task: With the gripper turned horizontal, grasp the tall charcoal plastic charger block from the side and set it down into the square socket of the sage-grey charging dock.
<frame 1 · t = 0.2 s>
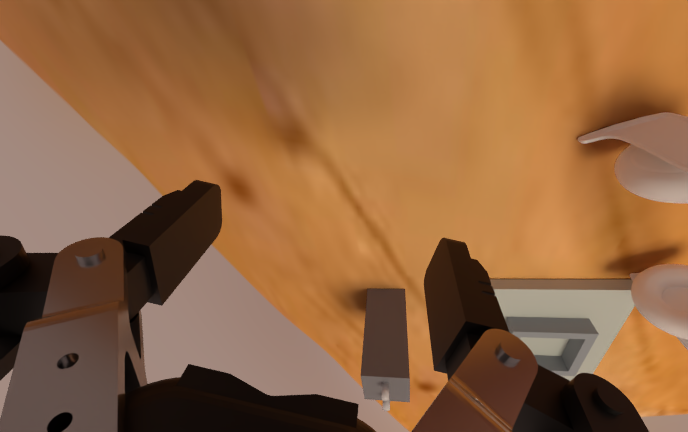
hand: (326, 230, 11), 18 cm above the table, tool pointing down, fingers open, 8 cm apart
charger block: (386, 301, 40), on the table
headset: (635, 205, 28), on the table
charging dock: (534, 329, 39), on the table
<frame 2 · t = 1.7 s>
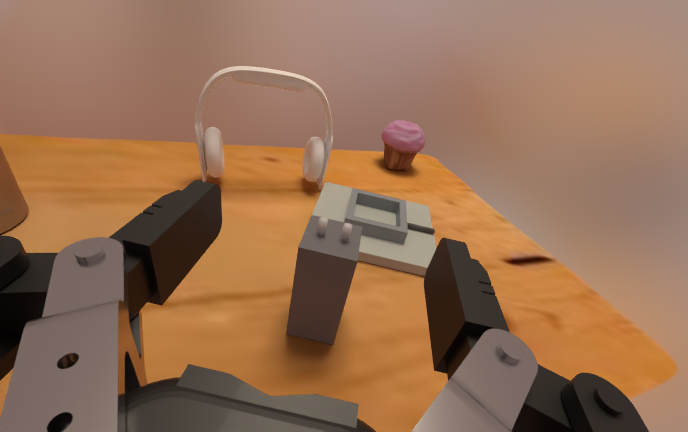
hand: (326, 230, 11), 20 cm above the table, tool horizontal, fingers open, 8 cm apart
charger block: (314, 319, 31), on the table
headset: (265, 186, 51), on the table
charging dock: (372, 227, 47), on the table
cupcake: (394, 167, 67), on the table
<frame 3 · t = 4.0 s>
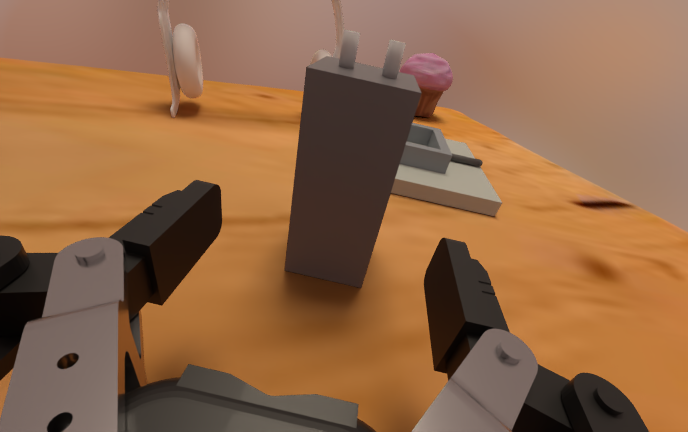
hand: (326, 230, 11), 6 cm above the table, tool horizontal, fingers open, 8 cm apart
charger block: (329, 254, 20), on the table
headset: (257, 117, 40), on the table
charging dock: (397, 161, 35), on the table
cupcake: (413, 114, 56), on the table
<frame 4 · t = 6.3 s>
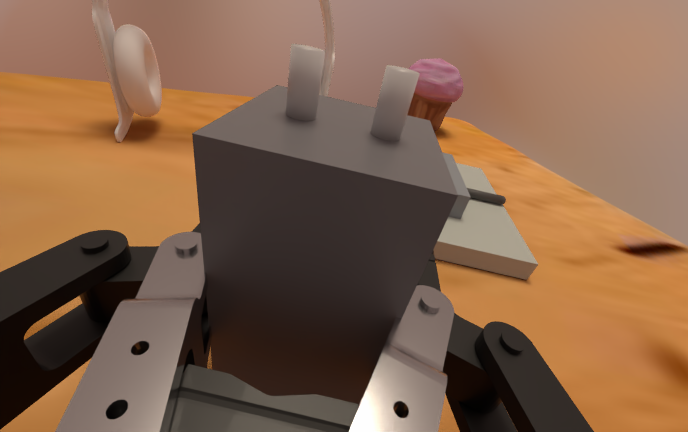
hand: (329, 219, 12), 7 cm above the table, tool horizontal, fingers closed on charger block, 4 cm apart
charger block: (295, 377, 13), on the table, touching gripper
headset: (230, 138, 33), on the table
charging dock: (399, 196, 28), on the table
cupcake: (417, 128, 49), on the table
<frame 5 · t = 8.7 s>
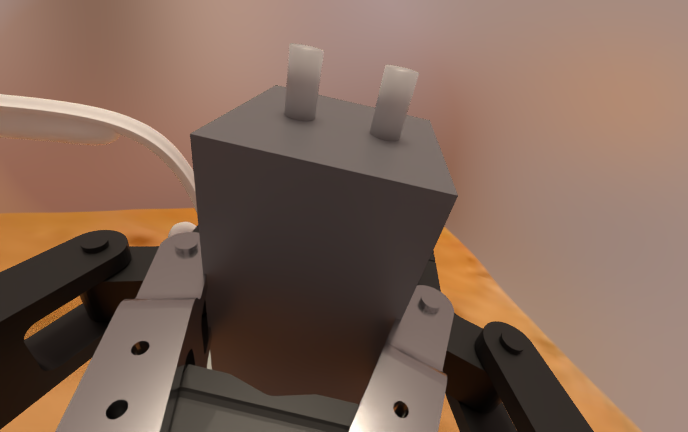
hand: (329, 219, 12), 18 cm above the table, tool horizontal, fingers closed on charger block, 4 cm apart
charger block: (295, 377, 13), point 11 cm above the table, touching gripper
headset: (89, 319, 25), on the table
when the fingers open (9 cm above the table, at t = 11.5 s): charger block stays where it is, resting on charging dock.
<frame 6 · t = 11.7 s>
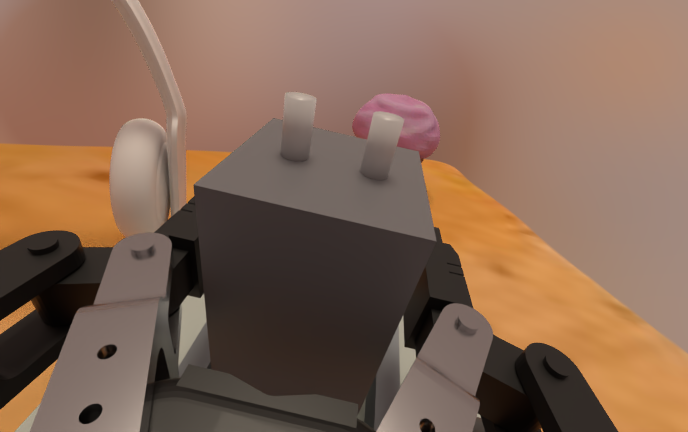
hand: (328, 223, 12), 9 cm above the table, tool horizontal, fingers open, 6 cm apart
charger block: (292, 389, 14), point 1 cm above the table, touching charging dock
headset: (19, 255, 19), on the table
charging dock: (289, 405, 14), on the table
cupcake: (379, 186, 35), on the table
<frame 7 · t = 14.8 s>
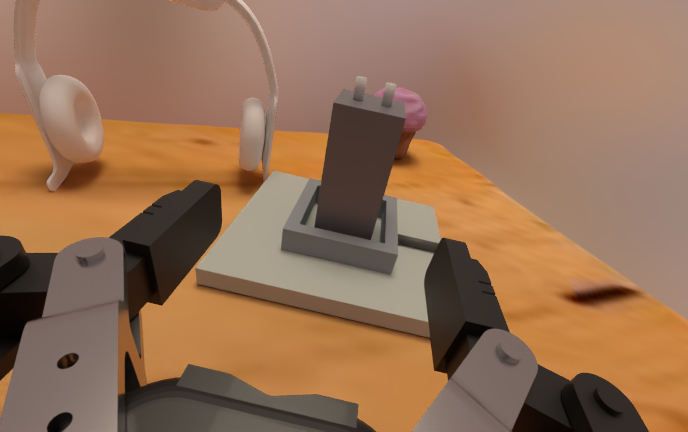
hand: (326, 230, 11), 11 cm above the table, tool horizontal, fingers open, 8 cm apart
charger block: (343, 230, 27), point 1 cm above the table, touching charging dock
headset: (176, 179, 32), on the table
charging dock: (340, 243, 28), on the table
cupcake: (384, 154, 49), on the table
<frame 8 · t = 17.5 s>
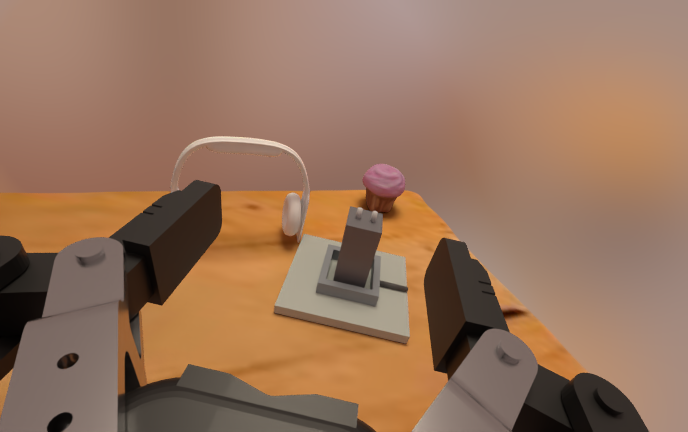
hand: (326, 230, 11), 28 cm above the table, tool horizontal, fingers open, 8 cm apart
charger block: (349, 278, 47), point 1 cm above the table, touching charging dock
headset: (244, 240, 52), on the table
charging dock: (347, 284, 48), on the table
cupcake: (376, 208, 68), on the table
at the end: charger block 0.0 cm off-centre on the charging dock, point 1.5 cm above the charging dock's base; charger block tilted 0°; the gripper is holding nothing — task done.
